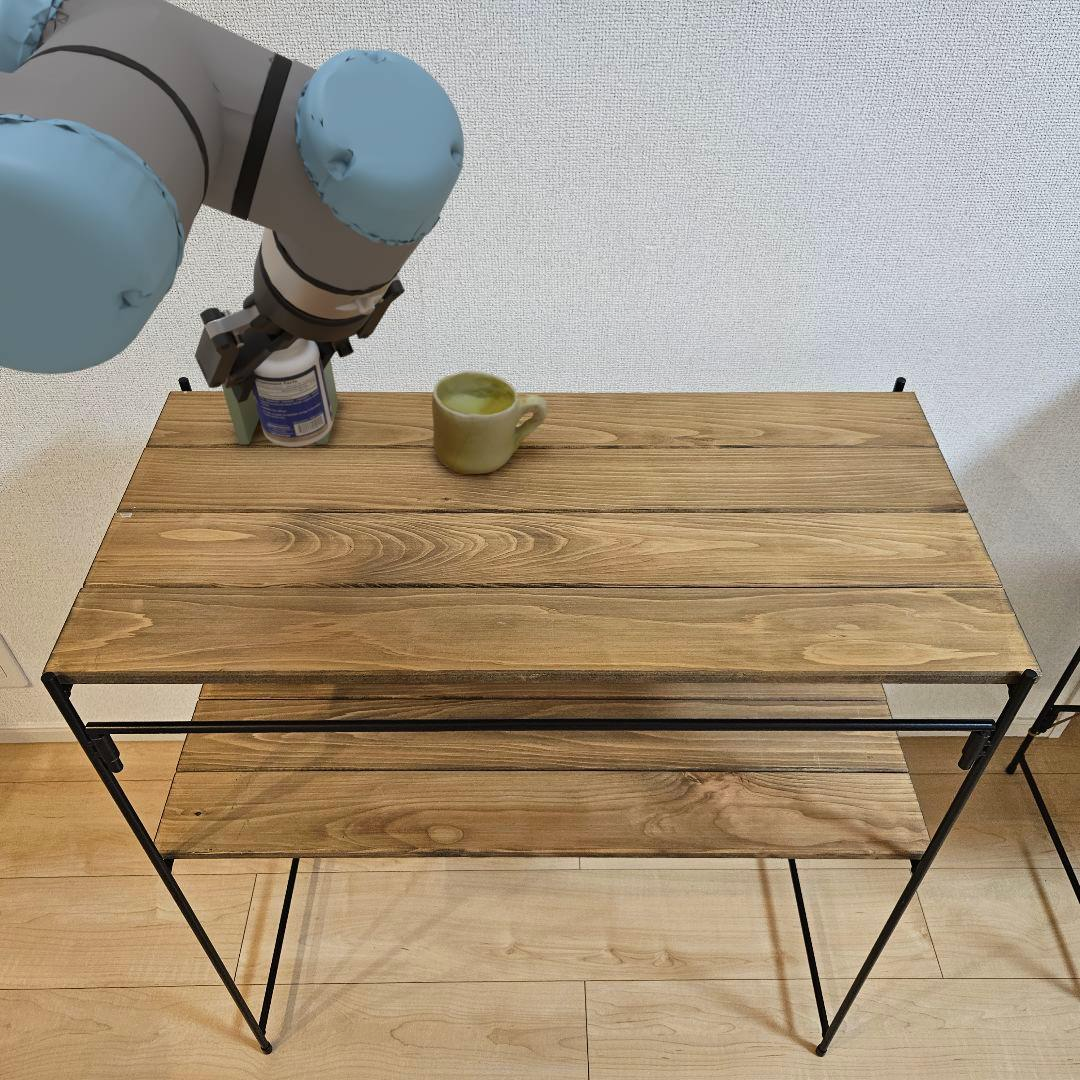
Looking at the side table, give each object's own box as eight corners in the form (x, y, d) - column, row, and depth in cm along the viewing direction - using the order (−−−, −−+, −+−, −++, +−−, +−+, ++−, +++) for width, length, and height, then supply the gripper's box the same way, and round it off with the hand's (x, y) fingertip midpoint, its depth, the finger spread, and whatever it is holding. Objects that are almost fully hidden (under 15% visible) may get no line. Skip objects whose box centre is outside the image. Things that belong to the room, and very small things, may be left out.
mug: (410, 470, 94) (428, 380, 89) (432, 439, 103) (449, 356, 99) (522, 500, 94) (545, 413, 89) (533, 467, 103) (555, 386, 99)
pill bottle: (276, 406, 76) (251, 299, 69) (342, 411, 75) (323, 304, 68) (253, 446, 71) (223, 337, 65) (322, 452, 71) (299, 342, 64)
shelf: (238, 444, 100) (218, 375, 94) (255, 403, 106) (237, 335, 100) (327, 445, 100) (313, 375, 94) (338, 404, 106) (326, 336, 100)
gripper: (198, 369, 49) (180, 455, 70) (486, 279, 56) (392, 380, 77) (139, 241, 48) (139, 366, 69) (438, 168, 56) (356, 300, 77)
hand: (273, 373), depth 73 cm, fingers closed on pill bottle, 6 cm apart
